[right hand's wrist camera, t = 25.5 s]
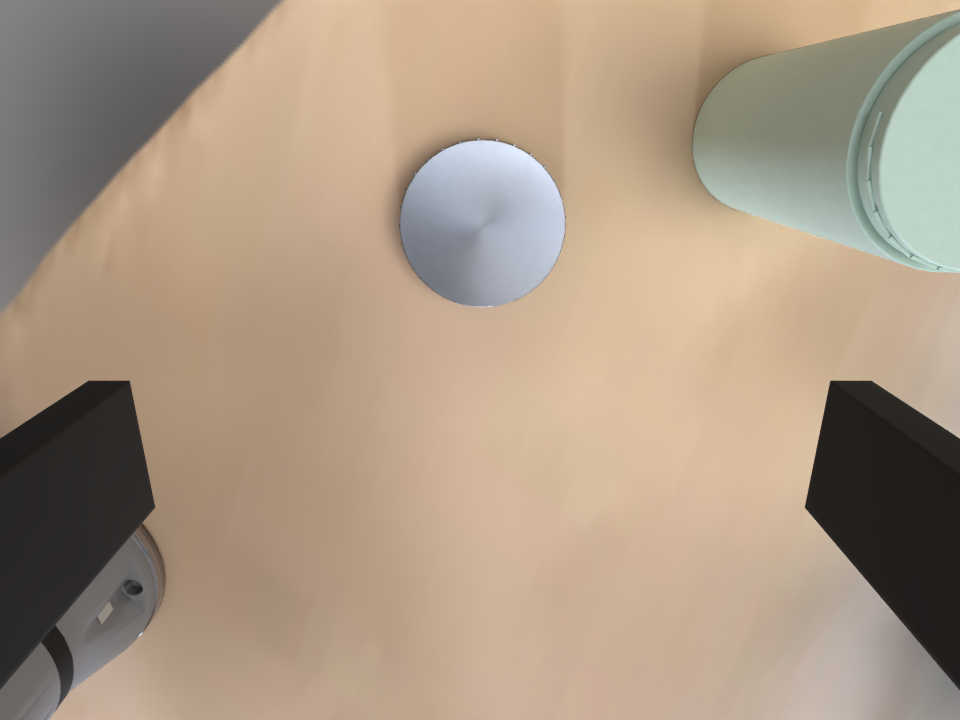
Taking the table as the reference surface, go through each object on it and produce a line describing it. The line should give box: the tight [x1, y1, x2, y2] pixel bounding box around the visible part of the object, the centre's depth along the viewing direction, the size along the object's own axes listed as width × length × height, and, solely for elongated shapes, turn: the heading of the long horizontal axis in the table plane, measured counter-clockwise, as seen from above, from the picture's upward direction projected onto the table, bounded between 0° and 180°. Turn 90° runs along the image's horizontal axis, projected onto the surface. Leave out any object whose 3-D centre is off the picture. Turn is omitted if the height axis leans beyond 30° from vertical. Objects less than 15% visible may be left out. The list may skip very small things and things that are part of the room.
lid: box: [399, 138, 566, 307], centre depth 39 cm, size 10×10×2 cm
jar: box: [692, 9, 960, 273], centre depth 29 cm, size 9×9×18 cm
